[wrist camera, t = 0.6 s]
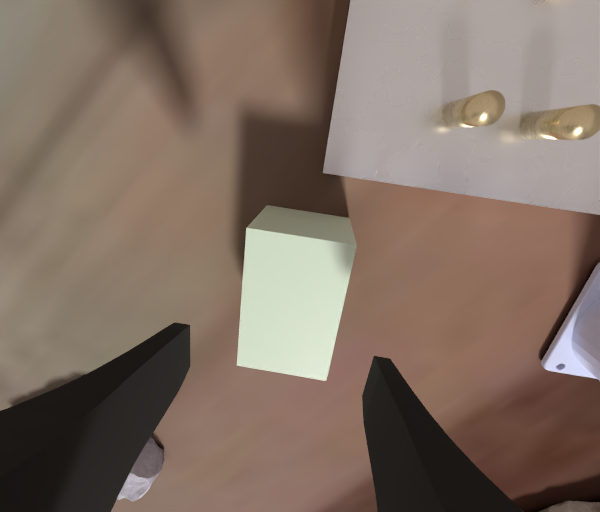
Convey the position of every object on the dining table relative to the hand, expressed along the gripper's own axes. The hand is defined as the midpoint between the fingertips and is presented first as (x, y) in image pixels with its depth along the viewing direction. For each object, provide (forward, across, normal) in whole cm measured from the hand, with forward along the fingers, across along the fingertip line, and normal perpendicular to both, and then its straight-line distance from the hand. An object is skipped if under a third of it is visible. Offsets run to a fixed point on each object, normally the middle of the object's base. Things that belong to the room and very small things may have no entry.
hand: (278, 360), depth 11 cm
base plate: (+8, -8, -13) cm, 17 cm away
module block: (+8, 0, 0) cm, 9 cm away
